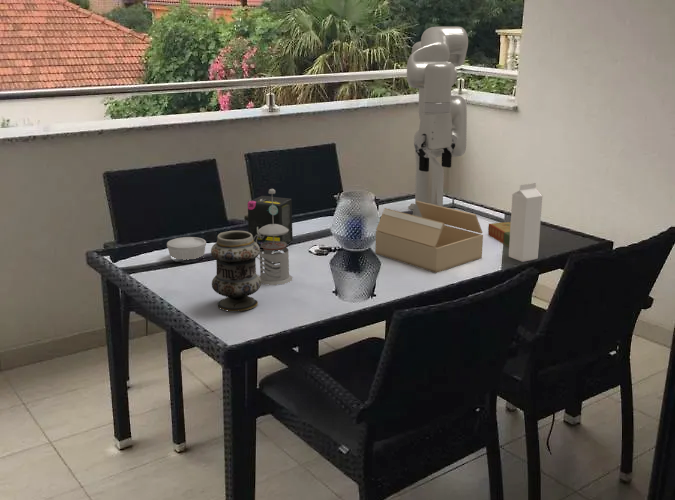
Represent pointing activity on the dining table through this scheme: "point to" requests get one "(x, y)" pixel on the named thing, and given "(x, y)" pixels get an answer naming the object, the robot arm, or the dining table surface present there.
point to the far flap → (449, 216)
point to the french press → (274, 254)
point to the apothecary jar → (236, 270)
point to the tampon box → (270, 217)
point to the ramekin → (186, 247)
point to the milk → (525, 223)
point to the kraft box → (432, 249)
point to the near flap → (410, 227)
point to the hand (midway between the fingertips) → (435, 168)
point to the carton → (500, 232)
